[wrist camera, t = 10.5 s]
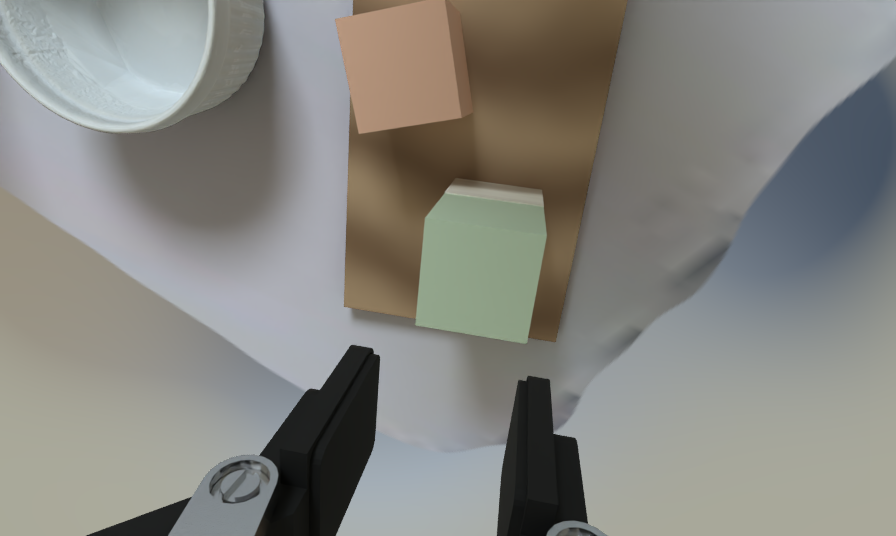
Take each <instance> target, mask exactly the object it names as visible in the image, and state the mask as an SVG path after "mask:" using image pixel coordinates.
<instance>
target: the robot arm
mask: <svg viewBox="0 0 896 536" xmlns="http://www.w3.org/2000/svg"><path fill="white" fill-rule="evenodd" d="M379 367H380V356H379V355H375V354H374V351H373V349H372V348H367V347H362V346H356V345H351V346H350V347H349V349H348V350H347V352H346V353H345V355H344V356H343V357H342V359H341V360H340V362H339V363H338V365H337V366H336V368H335V369H334V371H333V372H332V373H331V375H330V376H329V378H328V379H327V381H326V382H325V384H324V385H323V387H322V388H321V389H320V390H316V389H309V390H307V391H306V393H305V394H304V395H303V396H302V398H301V399H300V401H299V402H298V403H297V405H296V406H295V407H294V409H293V410H292V412H291V413H290V414H289V416H288V417H287V418H286V420H285V421H284V422H283V424H282V425H281V427H280V428H279V429H278V431H277V432H276V433H275V435H274V436H273V438H272V439H271V440H270V442H269V443H268V444H267V446H266V447H265V449H264V450H263V451H262V453H261V454H260V455H259V456H257V455H241V456H236V457H232V458H229V459H227V460H225V461H223V462H220V463H219V464H218V465H216V466H215V467H213V468H212V469H211V470H210V471H209V472H208V473H207V475H206V476H205V477H204V478H203V480H202V482H201V483H200V485H199V486H198V488H197V490H196V491H195V493H194V495H193V496H192V497H190V498H187V499H185V500H182V501H179V502H177V503H174V504H171V505H168V506H166V507H163V508H160V509H157V510H155V511H152V512H149V513H146V514H144V515H141V516H139V517H136V518H133V519H130V520H128V521H125V522H122V523H119V524H116V525H114V526H111V527H109V528H106V529H103V530H100V531H98V532H95V533H92V534H90V535H87V536H336V533H337V531H338V529H339V527H340V524H341V522H342V520H343V517H344V515H345V513H346V510H347V508H348V506H349V503H350V501H351V499H352V496H353V494H354V492H355V489H356V487H357V485H358V482H359V480H360V478H361V476H362V473H363V471H364V469H365V466H366V464H367V462H368V459H369V457H370V455H371V452H372V450H373V446H374V441H375V431H376V415H377V399H378V383H379ZM497 536H607V535H606V534H604V533H603V532H602V531H600V530H599V529H597V528H596V527H593V526H591V525H589V524H588V521H587V513H586V506H585V498H584V491H583V484H582V475H581V468H580V460H579V453H578V445H577V440H576V439H575V438H572V437H567V436H560V435H556V434H553V419H552V404H551V390H550V380H549V379H544V378H538V377H532V376H528V377H527V380H526V381H522V380H519V381H518V385H517V390H516V396H515V401H514V407H513V412H512V417H511V423H510V428H509V434H508V439H507V444H506V450H505V456H504V461H503V467H502V475H501V487H500V500H499V514H498V528H497Z"/></svg>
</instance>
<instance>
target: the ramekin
mask: <svg viewBox="0 0 896 536" xmlns="http://www.w3.org/2000/svg"><path fill="white" fill-rule="evenodd" d="M263 4H264V2H263V0H0V64H1V65H2V66H3V68H4V69H5V70H6V71H7V72H8V73H9V75H10V76H11V77H12V78H13V79H14V80H15V81H16V82H17V83H18V84H19V85H20V86H21V87H22V88H23V89H24V90H25V91H26V92H27V93H28V94H30V95H31V96H32V97H33V98H34V99H36V100H37V101H38V102H39V103H41V104H42V105H43V106H44V107H46V108H48V109H49V110H51V111H52V112H54V113H55V114H57V115H59V116H60V117H62V118H64V119H66V120H68V121H71V122H73V123H75V124H77V125H80V126H83V127H86V128H89V129H92V130H96V131H100V132H106V133H115V134H131V133H145V132H152V131H157V130H160V129H163V128H166V127H169V126H171V125H174V124H176V123H178V122H179V121H181V120H183V119H184V118H185V117H187V116H191V115H194V114H197V113H200V112H202V111H205V110H208V109H211V108H213V107H215V106H217V105H219V104H220V103H221V102H223V101H225V100H227V99H228V98H229V97H231V95H232V93H235V92H236V91H238V90H239V88H240V86H241V85H242V84H243V83H245V82H246V80H247V78H248V76H249V73H250V72H251V71H252V70H253V68H254V65H255V62H256V60H257V59H258V56H259V50H260V47H261V45H262V37H263V33H264V18H265V14H264V9H263Z"/></svg>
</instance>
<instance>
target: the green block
mask: <svg viewBox="0 0 896 536" xmlns="http://www.w3.org/2000/svg"><path fill="white" fill-rule="evenodd" d="M546 238H547V232H546V223H545V214H544V207H540V206H533V205H526V204H519V203H511V202H504V201H497V200H490V199H483V198H475V197H468V196H461V195H454V194H447V193H444V195H443V196H442V197H441V198H440V200H439V201H438V202H437V203H436V205H435V206H434V207H433V208H432V210H431V211H430V212H429V214H428V215H427V216H426V217H425V223H424V234H423V245H422V257H421V268H420V279H419V290H418V301H417V312H416V323H415V325H417V326H422V327H428V328H434V329H440V330H446V331H452V332H458V333H464V334H470V335H476V336H481V337H487V338H493V339H499V340H505V341H511V342H517V343H523V344H527V340H528V334H529V329H530V324H531V318H532V313H533V307H534V302H535V297H536V291H537V286H538V281H539V275H540V270H541V265H542V259H543V254H544V249H545V243H546Z"/></svg>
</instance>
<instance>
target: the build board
mask: <svg viewBox="0 0 896 536" xmlns="http://www.w3.org/2000/svg"><path fill="white" fill-rule="evenodd" d="M420 1H425V0H353V15H357V14H362V13H367V12H372V11H377V10H382V9H386V8H391V7H396V6H401V5H406V4H411V3H415V2H420ZM448 1H449V2H450V3H451V4H452V5H453V6H454V7H455V8H456V9H457V10H458V11H459V12H460V17H461V24H462V32H463V39H464V47H465V54H466V62H467V69H468V77H469V85H470V92H471V100H472V107H473V113H471V114H469V115H467V116H465V117H462V118H458V119H452V120H445V121H439V122H432V123H426V124H420V125H413V126H407V127H400V128H394V129H387V130H381V131H375V132H368V133H362V134H359V132H358V127H357V123H356V118H355V113H354V108H353V103H352V99H351V94H350V125H349V158H348V191H347V224H346V257H345V290H344V307H348V308H354V309H360V310H366V311H372V312H378V313H384V314H390V315H396V316H402V317H408V318H414V319H416V312H417V301H418V290H419V279H420V268H421V257H422V245H423V234H424V223H425V217H426V216H427V215H428V214H429V212H430V211H431V210H432V208H433V207H434V206H435V205H436V203H437V202H438V201H439V200H440V198H441V197H442V196H443V195H444V193H447V194H454V195H461V196H468V197H475V198H483V199H490V200H497V201H504V202H511V203H519V204H526V205H533V206H540V207H544V214H545V223H546V232H547V238H546V243H545V249H544V254H543V259H542V265H541V270H540V275H539V281H538V286H537V291H536V297H535V302H534V307H533V313H532V318H531V324H530V329H529V334H528V338H533V339H539V340H545V341H551V342H556V338H557V333H558V328H559V323H560V319H561V314H562V309H563V305H564V300H565V295H566V290H567V286H568V281H569V276H570V271H571V267H572V262H573V257H574V252H575V248H576V243H577V238H578V233H579V229H580V224H581V219H582V214H583V210H584V205H585V200H586V195H587V191H588V186H589V181H590V176H591V172H592V167H593V162H594V157H595V153H596V148H597V143H598V138H599V134H600V129H601V124H602V120H603V115H604V110H605V105H606V101H607V96H608V91H609V86H610V82H611V77H612V72H613V67H614V63H615V58H616V53H617V48H618V44H619V39H620V34H621V29H622V25H623V20H624V15H625V10H626V6H627V1H628V0H448Z"/></svg>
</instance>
